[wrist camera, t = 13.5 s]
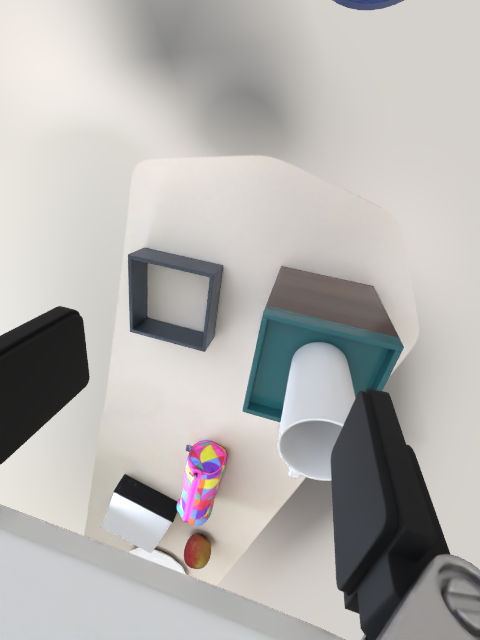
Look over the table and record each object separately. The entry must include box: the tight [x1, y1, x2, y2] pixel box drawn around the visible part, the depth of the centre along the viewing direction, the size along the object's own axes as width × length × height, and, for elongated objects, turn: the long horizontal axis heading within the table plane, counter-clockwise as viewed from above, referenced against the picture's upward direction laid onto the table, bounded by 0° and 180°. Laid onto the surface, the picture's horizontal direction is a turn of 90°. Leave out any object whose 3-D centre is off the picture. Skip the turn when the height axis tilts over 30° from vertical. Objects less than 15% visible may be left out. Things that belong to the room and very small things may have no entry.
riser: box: [266, 266, 399, 337], centre depth 42 cm, size 14×14×16 cm
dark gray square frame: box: [128, 248, 223, 352], centre depth 51 cm, size 14×14×5 cm
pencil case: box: [177, 441, 227, 526], centre depth 68 cm, size 22×9×9 cm, turn 170°
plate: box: [129, 548, 187, 575], centre depth 99 cm, size 21×21×2 cm
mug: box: [277, 342, 355, 481], centre depth 29 cm, size 10×7×12 cm, turn 161°
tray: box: [242, 306, 404, 422], centre depth 34 cm, size 14×14×2 cm
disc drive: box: [101, 474, 178, 553], centre depth 85 cm, size 18×22×5 cm
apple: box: [184, 534, 211, 569], centre depth 83 cm, size 8×8×8 cm
